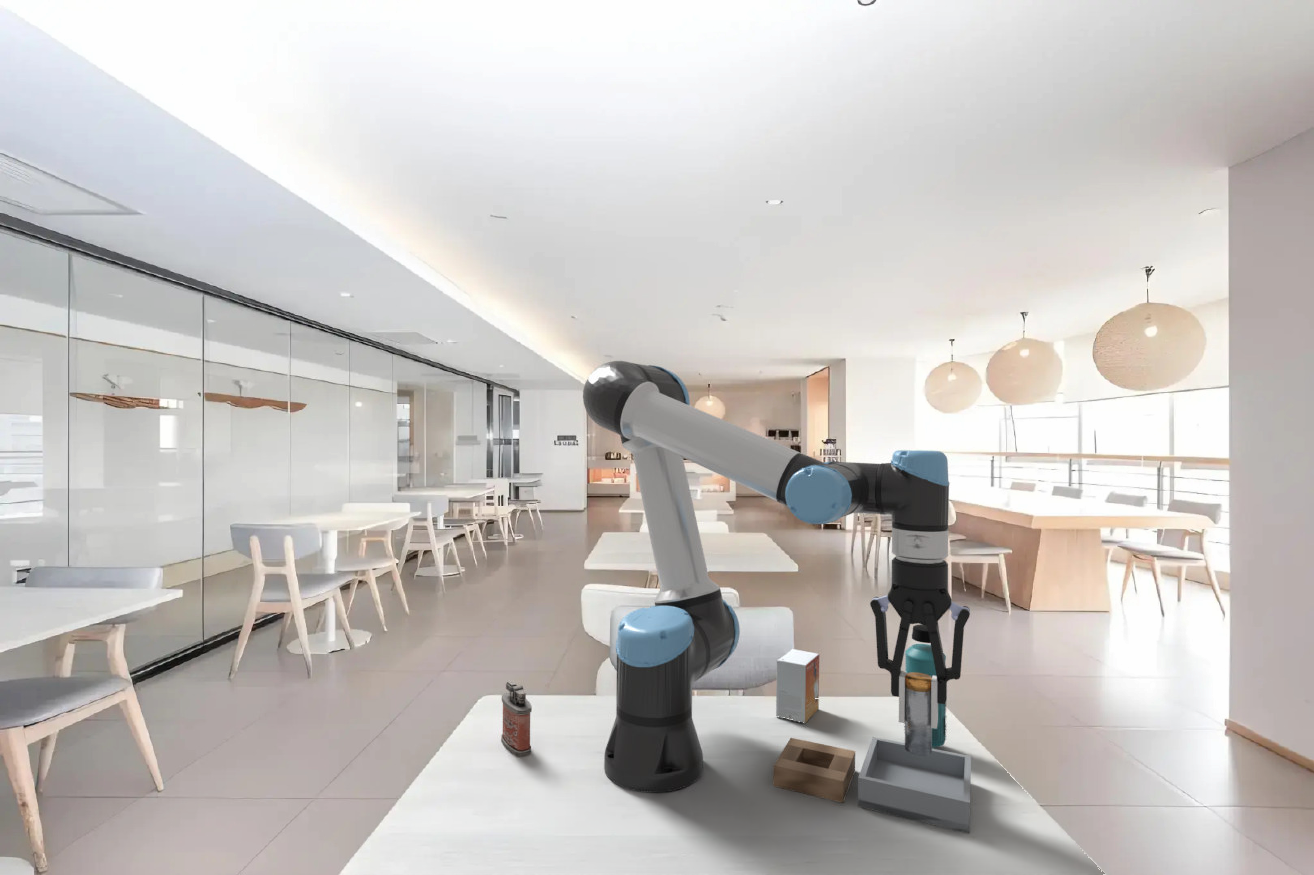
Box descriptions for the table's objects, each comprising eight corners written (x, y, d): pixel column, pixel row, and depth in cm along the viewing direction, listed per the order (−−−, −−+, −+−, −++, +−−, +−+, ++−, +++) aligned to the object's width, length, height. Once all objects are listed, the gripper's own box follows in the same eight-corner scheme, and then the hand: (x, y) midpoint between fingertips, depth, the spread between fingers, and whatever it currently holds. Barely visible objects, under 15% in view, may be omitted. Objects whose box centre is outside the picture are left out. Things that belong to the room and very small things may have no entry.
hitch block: (773, 785, 98) (773, 765, 98) (790, 756, 107) (790, 737, 107) (843, 802, 94) (843, 781, 94) (855, 770, 103) (855, 751, 103)
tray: (857, 806, 93) (858, 777, 93) (872, 762, 106) (872, 736, 106) (969, 833, 87) (969, 802, 87) (970, 783, 100) (970, 756, 100)
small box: (805, 725, 119) (805, 665, 119) (775, 717, 122) (775, 659, 122) (819, 709, 126) (820, 653, 126) (791, 702, 129) (791, 648, 129)
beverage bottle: (950, 759, 107) (952, 633, 107) (906, 754, 108) (908, 630, 108) (941, 740, 113) (943, 622, 113) (900, 736, 115) (901, 619, 114)
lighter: (535, 753, 107) (536, 691, 107) (515, 759, 105) (516, 695, 105) (516, 734, 114) (516, 675, 114) (496, 739, 112) (497, 679, 112)
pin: (903, 752, 95) (904, 678, 95) (906, 742, 99) (906, 670, 98) (930, 758, 94) (931, 683, 94) (932, 747, 97) (933, 674, 97)
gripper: (855, 557, 96) (854, 720, 96) (984, 568, 89) (983, 744, 89) (863, 549, 103) (862, 702, 103) (984, 558, 96) (982, 722, 96)
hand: (918, 721), depth 96 cm, fingers closed on pin, 4 cm apart
